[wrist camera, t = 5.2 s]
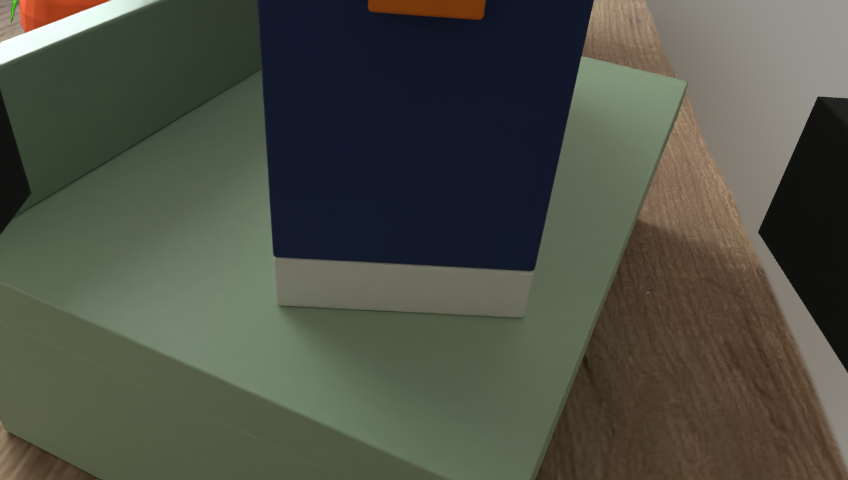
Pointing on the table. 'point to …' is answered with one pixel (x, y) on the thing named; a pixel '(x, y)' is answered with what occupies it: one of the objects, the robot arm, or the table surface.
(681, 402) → the table surface
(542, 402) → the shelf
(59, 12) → the clementine
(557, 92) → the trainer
